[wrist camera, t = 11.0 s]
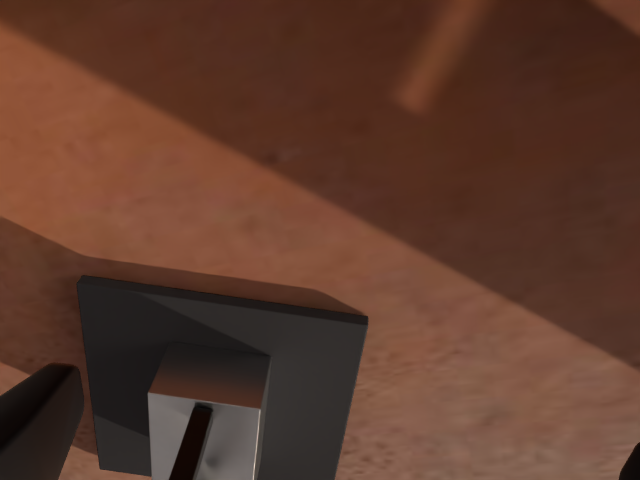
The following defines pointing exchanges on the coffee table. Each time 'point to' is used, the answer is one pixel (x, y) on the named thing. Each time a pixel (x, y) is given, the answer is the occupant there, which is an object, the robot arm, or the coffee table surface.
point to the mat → (231, 334)
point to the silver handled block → (207, 413)
